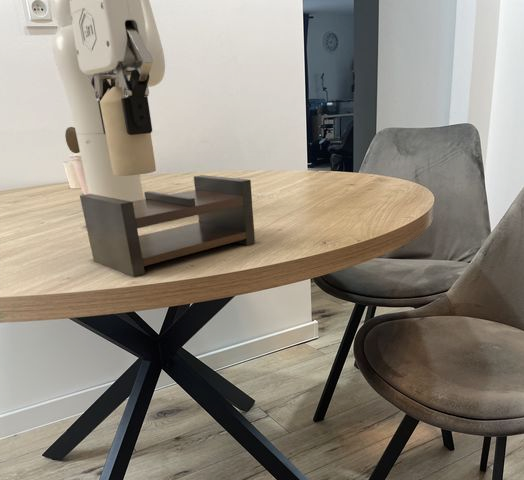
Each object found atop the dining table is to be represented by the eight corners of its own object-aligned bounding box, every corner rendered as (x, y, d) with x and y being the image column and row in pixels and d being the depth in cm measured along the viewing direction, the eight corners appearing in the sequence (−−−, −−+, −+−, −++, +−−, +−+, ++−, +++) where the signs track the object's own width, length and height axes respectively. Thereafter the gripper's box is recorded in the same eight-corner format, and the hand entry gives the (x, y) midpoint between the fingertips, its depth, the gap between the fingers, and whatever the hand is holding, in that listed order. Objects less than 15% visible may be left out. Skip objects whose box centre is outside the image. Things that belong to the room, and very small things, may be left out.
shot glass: (63, 189, 144) (57, 163, 141) (75, 185, 150) (69, 160, 147) (86, 188, 143) (80, 161, 140) (97, 184, 149) (92, 159, 146)
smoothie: (84, 191, 136) (72, 135, 130) (107, 190, 135) (96, 133, 129) (73, 196, 131) (60, 137, 124) (97, 195, 130) (85, 135, 124)
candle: (146, 175, 63) (131, 84, 59) (105, 176, 65) (88, 88, 60) (162, 169, 68) (150, 85, 64) (124, 171, 69) (110, 88, 65)
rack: (93, 260, 72) (79, 195, 69) (208, 232, 84) (201, 174, 80) (134, 277, 64) (120, 203, 60) (255, 243, 75) (250, 179, 71)
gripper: (37, -29, 60) (72, 137, 68) (99, -70, 48) (133, 136, 56) (96, -24, 65) (123, 132, 72) (168, -60, 53) (190, 130, 60)
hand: (127, 132), depth 64 cm, fingers closed on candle, 5 cm apart
